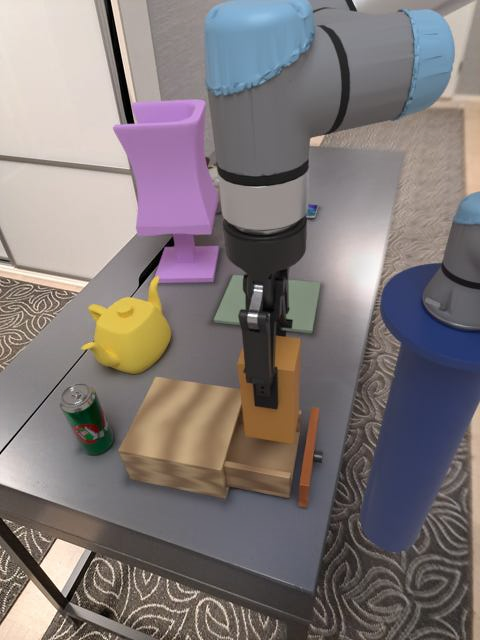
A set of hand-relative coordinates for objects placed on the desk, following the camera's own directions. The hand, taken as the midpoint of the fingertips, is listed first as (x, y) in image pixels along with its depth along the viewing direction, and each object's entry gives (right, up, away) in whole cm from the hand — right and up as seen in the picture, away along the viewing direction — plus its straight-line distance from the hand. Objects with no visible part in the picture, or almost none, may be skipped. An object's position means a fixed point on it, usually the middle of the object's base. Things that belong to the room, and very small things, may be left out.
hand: (271, 386), depth 54 cm
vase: (-16, +21, +53) cm, 59 cm away
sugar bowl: (-12, +41, +75) cm, 86 cm away
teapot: (-25, +3, +32) cm, 41 cm away
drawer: (+1, -12, +11) cm, 16 cm away
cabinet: (-11, -12, +14) cm, 21 cm away
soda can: (-26, -12, +16) cm, 33 cm away
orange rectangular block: (+1, -6, +5) cm, 8 cm away
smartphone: (+10, +38, +70) cm, 80 cm away
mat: (+2, +12, +40) cm, 41 cm away
